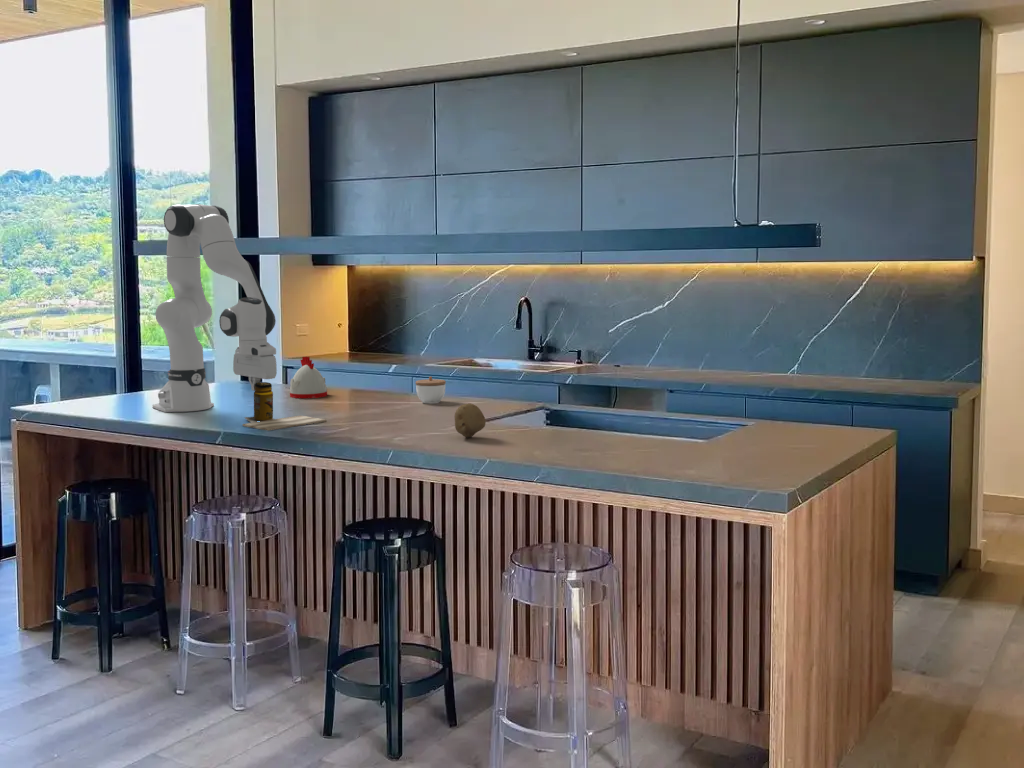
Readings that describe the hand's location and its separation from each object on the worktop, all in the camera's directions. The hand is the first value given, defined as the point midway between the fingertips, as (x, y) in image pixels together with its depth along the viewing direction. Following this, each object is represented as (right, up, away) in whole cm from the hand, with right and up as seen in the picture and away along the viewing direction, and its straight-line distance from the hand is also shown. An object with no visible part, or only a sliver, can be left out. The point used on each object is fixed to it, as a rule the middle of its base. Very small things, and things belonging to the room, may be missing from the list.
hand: (255, 390), depth 339 cm
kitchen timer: (+6, -3, +57) cm, 57 cm away
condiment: (+2, -10, 0) cm, 10 cm away
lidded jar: (+54, -5, +35) cm, 65 cm away
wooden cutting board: (+11, -11, -8) cm, 17 cm away
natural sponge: (+71, -14, -36) cm, 81 cm away
